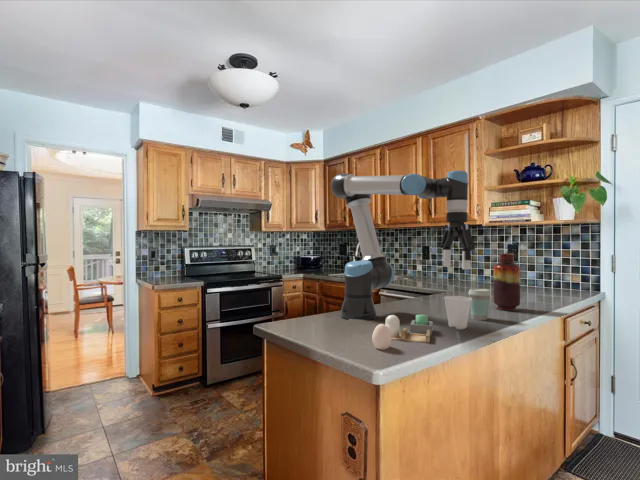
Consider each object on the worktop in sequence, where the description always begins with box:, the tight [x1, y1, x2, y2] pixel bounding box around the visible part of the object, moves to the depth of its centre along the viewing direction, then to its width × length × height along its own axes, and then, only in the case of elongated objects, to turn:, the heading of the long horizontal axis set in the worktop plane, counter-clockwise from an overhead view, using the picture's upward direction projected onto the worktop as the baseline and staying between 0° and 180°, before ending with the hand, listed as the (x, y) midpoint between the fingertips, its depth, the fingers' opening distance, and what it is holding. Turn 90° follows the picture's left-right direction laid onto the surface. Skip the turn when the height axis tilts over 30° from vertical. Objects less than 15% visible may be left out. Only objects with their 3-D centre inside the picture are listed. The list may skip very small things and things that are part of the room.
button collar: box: [409, 319, 434, 336], centre depth 122 cm, size 7×7×4 cm
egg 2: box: [384, 314, 401, 338], centre depth 117 cm, size 5×5×7 cm
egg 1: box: [371, 323, 392, 350], centre depth 104 cm, size 6×6×8 cm
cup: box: [443, 295, 472, 330], centre depth 132 cm, size 10×10×11 cm
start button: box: [415, 313, 429, 325], centre depth 122 cm, size 4×4×4 cm
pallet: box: [391, 327, 431, 344], centre depth 115 cm, size 16×8×3 cm, turn 71°
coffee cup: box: [467, 288, 491, 321], centre depth 147 cm, size 8×9×12 cm
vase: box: [493, 253, 521, 312], centre depth 167 cm, size 11×11×26 cm
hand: (456, 267), depth 136 cm, fingers open, 13 cm apart
